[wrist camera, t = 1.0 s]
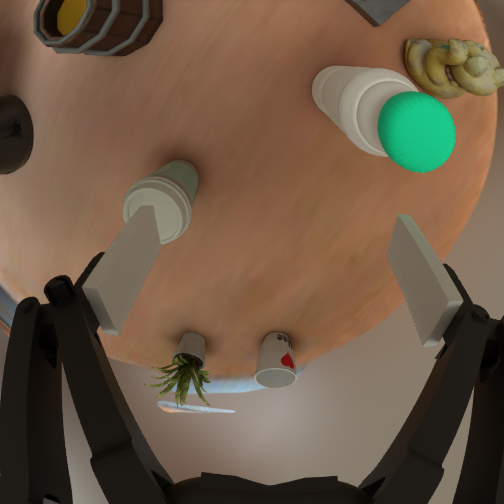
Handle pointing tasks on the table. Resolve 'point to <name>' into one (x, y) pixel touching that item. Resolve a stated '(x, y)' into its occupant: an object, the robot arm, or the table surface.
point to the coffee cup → (165, 198)
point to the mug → (97, 25)
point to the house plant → (186, 367)
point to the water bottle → (386, 115)
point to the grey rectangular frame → (376, 9)
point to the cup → (276, 362)
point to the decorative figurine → (453, 67)
